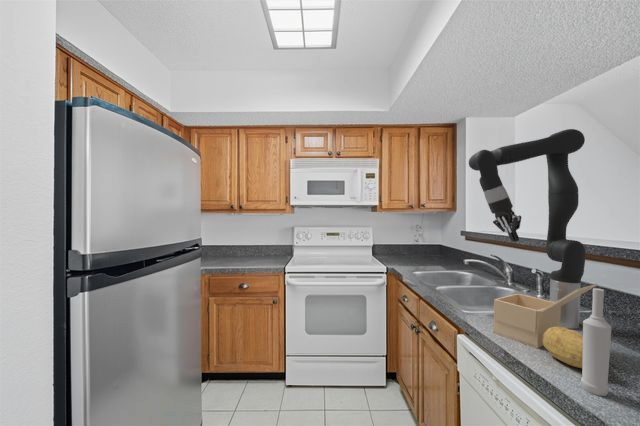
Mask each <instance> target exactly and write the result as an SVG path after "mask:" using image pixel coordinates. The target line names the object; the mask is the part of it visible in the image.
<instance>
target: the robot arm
mask: <svg viewBox="0 0 640 426" xmlns="http://www.w3.org/2000/svg"><path fill="white" fill-rule="evenodd" d="M584 144H585V135H584V133H582V131H580V130H578V129H575V128H569V129H564V130H560V131H558V132H555V133H552V134H551V135H549V136H547V137H544V138H541V139H540V138H539V139H535V140H530V141H525V142H518V143H513V144H509V145H505V146H500V147H497V148H496V149H494V150H488V149H481V150H478V151H477V152H476V153H474V154H473V155H471V156H470V158H469V159H468V166H469V168H471V170H474V171H477V172H478V171H479V174H480V177H479V180H478V182H479V184H480V186H481V190H482V191H483V195H484V198H485V200H486V202H487V206H488V208H489V209H490V212H491V214H493V215H494V216H495V219H494V220H493V221H492V223H493V224H494V225H495V226H496V227H497V228H498V229H499V230H500V231H501V232H503V233H506V234H507V235H508V237H509V239H510V241H511V242H512V243H514V242H515V243H517V242H518V241H520V237H519V235H518V233H517V230H519V229H520V227H521V222H522V216H521V215H517V214H515V213H516V212H514V210H513V209H512V208H513V207H514V206H513V203H512V201H511V198H510V196H509V195H508V192H507V190H506V188H505V187H504V185H503V182H502V179H501V177H500V175H499V169H498V166H504V165H510V164H513V163H519V162H522V161H527V160H530V159H533V158H537V157H541V156H542V157H543V156H545V157H546V163H547V180H548V183H547V184H548V185H547V186H548V188H547V190H548V191H547V192H548V193H547V194H548V195H547V197H548V199H547V201H548V202H547V203H548V227H547V236H546V244H545V245H546V246H545V248H546V255H547V257H548V258H549V259H550V260H552V261H554V262H558V263H561V266H560V269H558V270H552V271H551V272H550V280H549V281H550V283H549V301H552V302H556V301H558V300H560V299H562V298H563V297H565V296H567V295H568V294H570V293H572V292H573V291H575V290H577V289H580V288H582V287H581V286H582V285H581V284H582V278H583V276H584V273H585V266H586V265H585V263H586V255H587V254H586V247H585V245H584V244H583V243H582V242H581V241H579V240H574V239H567V227H568V224H569V222H570V221H571V219H572V217H573V216H574V214H575V213H576V211H577V210H578V207H579V187H578V185H577V182H576V180H575V178H574V177H573V175H572V173H571V171H570V168H569V155H570V154H574V153H576V152H578V151H579V150H580V149H582V148H583V146H584ZM580 311H581V295H580V296H578V297H576V298H574V299H573V300H571V301H569V302H568V303H566V304H564V305H562V306H561V311H560V327H564V328H567V329H570V330H574V329H576V330H577V329H579V328H580V316H581V315H580Z"/></svg>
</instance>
